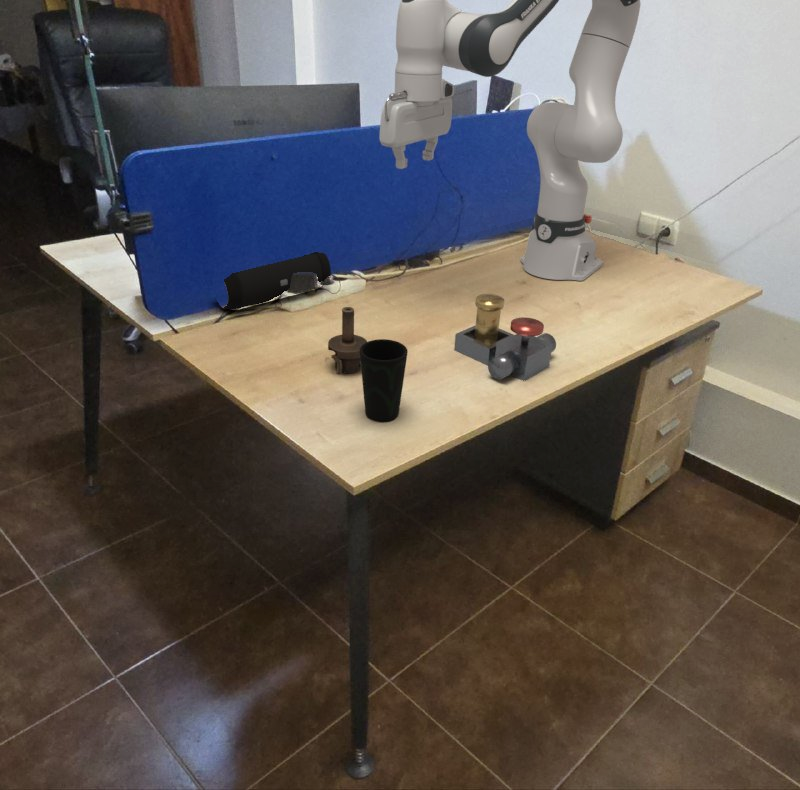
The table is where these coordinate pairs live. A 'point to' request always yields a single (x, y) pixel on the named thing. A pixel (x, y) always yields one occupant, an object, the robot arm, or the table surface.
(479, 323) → the pipe stub
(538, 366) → the valve body
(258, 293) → the portable speaker
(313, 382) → the table surface
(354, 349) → the industrial component
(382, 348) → the cup
